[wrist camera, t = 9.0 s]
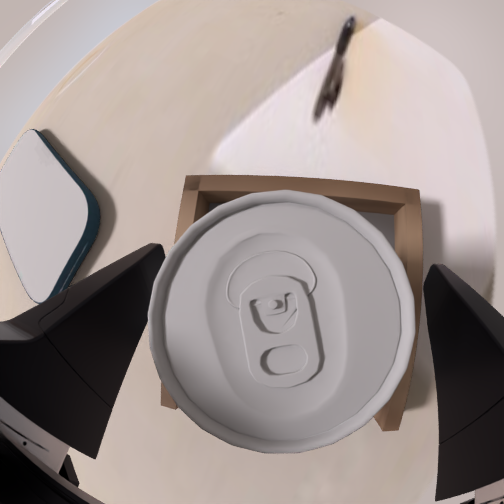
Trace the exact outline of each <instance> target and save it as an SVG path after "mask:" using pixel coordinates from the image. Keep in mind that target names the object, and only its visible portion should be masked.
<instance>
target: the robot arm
mask: <svg viewBox="0 0 504 504" xmlns="http://www.w3.org/2000/svg"><path fill="white" fill-rule="evenodd" d="M165 258H166V257H165V253H164V249H163V246H162V245H161V244H156V243H150V244H148V245H146V246H144V247H142V248H140V249H138V250H136V251H134V252H132V253H130V254H128V255H127V256H125V257H123V258H121V259H119V260H117V261H115V262H114V263H112V264H110V265H108V266H106V267H104V268H103V269H101V270H99V271H97V272H95V273H93V274H92V275H90V276H88V277H86V278H85V279H83V280H81V281H79V282H78V283H76V284H74V285H72V286H71V287H70V288H67V289H65V290H64V291H62V292H60V293H59V294H57V295H55V296H53V297H52V298H50V299H48V300H46V301H44V302H43V303H41V304H39V305H37V306H35V307H33V308H31V309H29V310H28V311H26V312H24V313H22V314H20V315H18V316H17V317H15V318H13V319H11V320H7V321H3V322H0V504H104V503H103V502H101V501H99V500H97V499H96V498H94V497H92V496H91V495H89V494H87V493H86V492H84V491H82V490H81V489H79V488H78V485H79V481H78V478H77V475H76V473H75V470H74V467H73V464H72V461H71V458H70V455H68V454H67V452H68V450H69V448H70V447H72V448H74V449H76V450H77V451H79V452H81V453H83V454H85V455H87V456H89V457H91V458H93V459H96V457H97V454H98V451H99V448H100V445H101V442H102V439H103V436H104V433H105V430H106V427H107V424H108V421H109V418H110V415H111V412H112V408H113V406H114V404H115V401H116V398H117V395H118V393H119V390H120V387H121V385H122V382H123V380H124V377H125V375H126V372H127V369H128V367H129V364H130V362H131V360H132V357H133V355H134V352H135V350H136V347H137V345H138V343H139V340H140V338H141V336H142V333H143V331H144V329H145V326H146V324H147V322H148V310H149V305H150V300H151V295H152V290H153V285H154V281H155V279H156V277H157V275H158V272H159V270H160V268H161V266H162V264H163V262H164V260H165ZM423 291H424V299H425V306H426V315H427V325H428V332H429V338H430V344H431V350H432V356H433V363H434V371H435V380H436V390H437V402H438V421H439V444H440V445H439V453H438V474H437V486H436V496H435V501H440V500H444V499H447V498H451V497H454V496H458V495H461V494H465V493H467V492H471V491H474V490H475V498H473V499H470V500H468V501H465V502H463V503H460V504H504V317H503V316H502V315H501V314H500V313H499V312H498V311H497V310H496V309H495V308H494V307H493V306H491V305H490V304H489V303H488V302H487V301H486V300H485V299H484V298H483V297H482V296H480V295H479V294H478V293H477V292H476V291H475V290H474V289H472V288H471V287H470V286H469V285H468V284H467V283H465V282H464V281H463V280H462V279H461V278H459V277H458V276H457V275H456V274H455V273H453V272H452V271H451V270H450V269H448V268H447V267H446V266H445V265H443V264H433V265H432V266H431V267H430V269H429V272H428V275H427V277H426V280H425V282H424V286H423Z"/></svg>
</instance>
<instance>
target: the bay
mask: <svg viewBox="0 0 504 504" xmlns="http://www.w3.org/2000/svg"><path fill="white" fill-rule="evenodd" d="M278 190H292V191H299V192H305V193H312V194H318V195H323V196H325V197H327V198H329V199H332V200H334V201H336V202H338V203H340V204H343V205H345V206H347V207H349V208H351V209H354V210H355V211H356V212H358V213H359V214H360V215H361V216H363V217H364V218H365V219H366V220H367V221H369V222H370V223H371V224H372V225H373V226H375V227H376V228H377V229H378V230H379V231H381V232H382V233H383V235H384V236H385V238H386V239H387V240H388V242H389V243H390V245H391V246H392V248H393V249H394V251H395V252H396V254H397V255H398V257H399V258H400V260H401V261H402V263H403V265H404V268H405V271H406V274H407V277H408V280H409V283H410V286H411V289H412V292H413V295H414V304H415V331H416V333H415V338H414V343H413V347H412V351H411V355H410V359H409V363H408V367H407V370H406V372H405V373H404V375H403V377H402V379H401V381H400V383H399V384H398V386H397V388H396V390H395V391H394V393H393V395H392V397H391V398H390V400H389V401H388V402H387V403H386V404H385V405H384V406H383V407H382V408H381V409H380V411H379V412H378V413H377V414H376V415H375V416H374V418H375V420H376V421H377V423H378V424H379V426H380V428H381V429H382V431H395V430H399V426H400V423H401V419H402V416H403V412H404V408H405V404H406V400H407V396H408V391H409V387H410V382H411V377H412V372H413V366H414V360H415V354H416V347H417V340H418V332H419V323H420V313H421V299H422V279H423V237H422V217H421V204H420V193H419V190H418V189H411V188H404V187H397V186H389V185H382V184H373V183H364V182H354V181H344V180H332V179H320V178H304V177H286V176H258V175H189V176H186V179H185V184H184V189H183V194H182V200H181V205H180V211H179V217H178V223H177V229H176V235H175V242H174V245H175V243H176V242H177V241H178V240H179V239H180V237H181V236H182V235H183V234H184V233H185V231H186V230H187V229H188V228H189V227H190V226H191V225H192V224H193V223H195V222H196V221H198V220H199V219H200V218H202V217H203V216H205V215H206V214H208V213H209V212H210V211H212V210H213V209H215V208H216V207H218V206H219V205H222V204H224V203H227V202H230V201H232V200H235V199H237V198H240V197H243V196H245V195H248V194H251V193H259V192H268V191H278ZM161 405H162V406H165V407H169V408H172V409H175V410H176V409H177V408H178V406H177V405H176V403H175V402H174V400H173V399H172V397H171V396H170V394H169V392H168V391H167V389H166V388H165V386H164V384H163V383H162V381H161Z"/></svg>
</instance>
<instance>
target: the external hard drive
mask: <svg viewBox="0 0 504 504" xmlns="http://www.w3.org/2000/svg"><path fill="white" fill-rule="evenodd" d="M99 225H100V210H99V206H98V203H97V201H96V199H95V197H94V195H93V194H92V193H91V191H90V190H89V189H88V188H87V187H86V186H85V184H84V183H83V182H82V181H81V180H80V179H79V178H78V177H77V175H76V174H75V173H74V172H73V171H72V170H71V169H70V167H69V166H68V165H67V164H66V163H65V162H64V160H63V159H62V158H61V157H60V156H59V154H58V153H57V152H56V151H55V150H54V148H53V147H52V146H51V145H50V144H49V142H48V141H47V140H46V139H45V137H44V136H43V135H42V134H41V133H40V132H39V131H37V130H35V129H30V130H28V131H26V132H25V133H24V134H23V135H22V136H21V138H20V139H19V141H18V142H17V144H16V145H15V147H14V148H13V150H12V152H11V153H10V155H9V157H8V159H7V160H6V162H5V164H4V166H3V167H2V169H1V171H0V230H1V233H2V236H3V239H4V242H5V244H6V247H7V250H8V252H9V255H10V257H11V260H12V262H13V264H14V267H15V269H16V271H17V274H18V276H19V278H20V280H21V282H22V284H23V287H24V288H25V290H26V292H27V294H28V295H29V296H30V298H31V299H32V300H33V301H34V302H35V303H38V304H41V303H43V302H44V301H46V300H48V299H50V298H52V297H53V296H55V295H57V294H59V293H60V292H62V291H64V290H65V289H67V288H68V286H69V284H70V282H71V280H72V279H73V277H74V275H75V273H76V272H77V270H78V268H79V266H80V265H81V263H82V261H83V260H84V258H85V256H86V255H87V253H88V251H89V249H90V248H91V246H92V244H93V242H94V241H95V238H96V236H97V233H98V230H99ZM61 272H62V273H61Z"/></svg>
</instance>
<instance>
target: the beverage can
mask: <svg viewBox="0 0 504 504" xmlns="http://www.w3.org/2000/svg"><path fill="white" fill-rule="evenodd" d="M148 329H149V345H150V350H151V353H152V356H153V359H154V362H155V366H156V369H157V372H158V374H159V377H160V379H161V381H162V383H163V384H164V386H165V388H166V389H167V391H168V392H169V394H170V396H171V397H172V399H173V400H174V402H175V403H176V405H177V406H178V407H179V408H180V409H181V410H182V411H183V412H184V413H185V414H186V415H187V416H188V417H189V418H190V419H191V420H193V421H194V422H195V423H196V424H197V425H198V426H199V427H200V428H201V429H203V430H205V431H206V432H208V433H210V434H212V435H214V436H215V437H217V438H219V439H221V440H223V441H225V442H227V443H228V444H230V445H233V446H237V447H241V448H244V449H248V450H253V451H257V452H261V453H301V452H305V451H309V450H313V449H317V448H320V447H324V446H327V445H330V444H334V443H335V442H337V441H339V440H341V439H343V438H344V437H346V436H348V435H350V434H351V433H353V432H355V431H356V430H358V429H360V428H361V427H363V426H364V425H365V424H366V423H368V422H369V421H370V420H371V419H372V418H373V417H374V416H375V415H376V414H377V413H378V412H379V411H380V409H381V408H382V407H383V406H384V405H385V404H386V403H387V402H388V401H389V400H390V398H391V397H392V395H393V393H394V391H395V390H396V388H397V386H398V384H399V383H400V381H401V379H402V377H403V375H404V373H405V372H406V370H407V367H408V363H409V359H410V355H411V351H412V347H413V343H414V338H415V333H416V331H415V304H414V295H413V292H412V289H411V286H410V283H409V280H408V277H407V274H406V271H405V268H404V265H403V263H402V261H401V260H400V258H399V257H398V255H397V254H396V252H395V251H394V249H393V248H392V246H391V245H390V243H389V242H388V240H387V239H386V238H385V236H384V235H383V233H382V232H381V231H379V230H378V229H377V228H376V227H375V226H373V225H372V224H371V223H370V222H369V221H367V220H366V219H365V218H364V217H363V216H361V215H360V214H359V213H358V212H356V211H355V210H354V209H351V208H349V207H347V206H345V205H343V204H340V203H338V202H336V201H334V200H332V199H329V198H327V197H325V196H323V195H318V194H312V193H305V192H299V191H292V190H278V191H268V192H259V193H251V194H248V195H245V196H243V197H240V198H237V199H235V200H232V201H230V202H227V203H224V204H222V205H219V206H218V207H216V208H215V209H213V210H212V211H210V212H209V213H208V214H206V215H205V216H203V217H202V218H200V219H199V220H198V221H196V222H195V223H193V224H192V225H191V226H190V227H189V228H188V229H187V230H186V231H185V233H184V234H183V235H182V236H181V237H180V239H179V240H178V241H177V242H176V243H175V245H174V246H173V247H172V248H171V249H170V251H169V252H168V254H167V256H166V258H165V260H164V262H163V264H162V266H161V268H160V270H159V272H158V275H157V277H156V279H155V281H154V285H153V290H152V295H151V300H150V305H149V310H148Z"/></svg>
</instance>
